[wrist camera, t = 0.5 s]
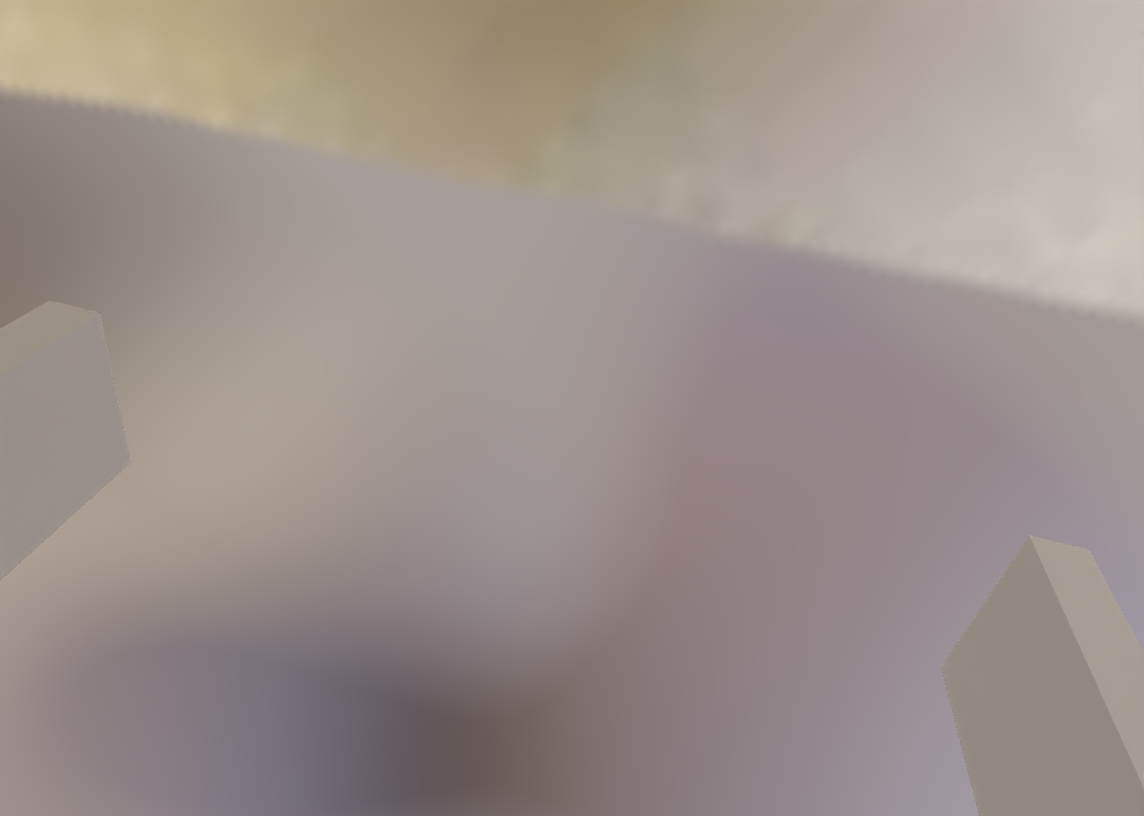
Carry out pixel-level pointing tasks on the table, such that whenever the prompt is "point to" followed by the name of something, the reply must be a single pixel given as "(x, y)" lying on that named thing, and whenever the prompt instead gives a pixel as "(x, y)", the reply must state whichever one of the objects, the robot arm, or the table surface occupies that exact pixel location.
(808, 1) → the table surface
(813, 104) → the table surface
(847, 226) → the table surface
